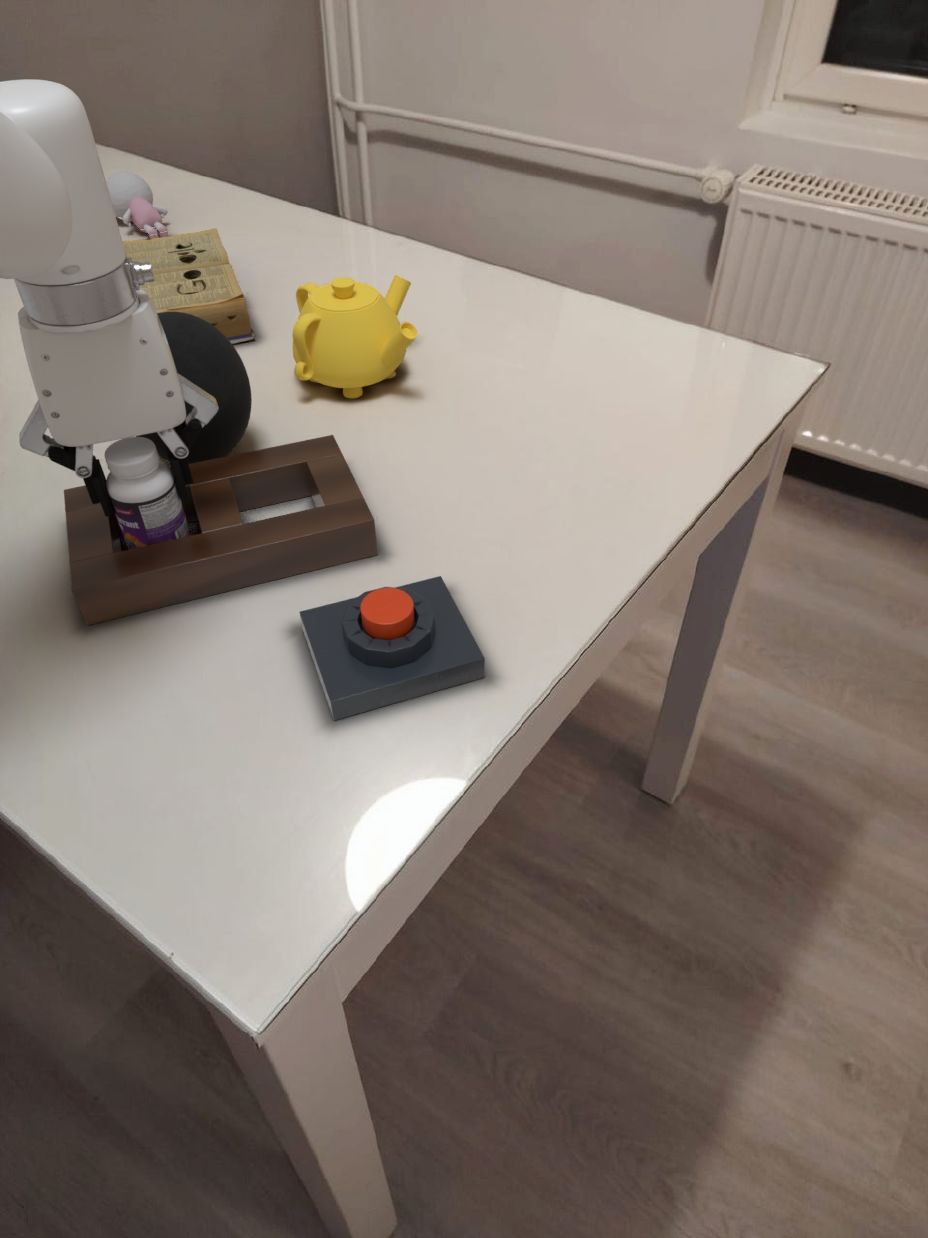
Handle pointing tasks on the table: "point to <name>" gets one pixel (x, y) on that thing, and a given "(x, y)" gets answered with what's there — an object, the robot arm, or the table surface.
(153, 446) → the pill bottle
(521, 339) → the table surface
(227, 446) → the decorative egg
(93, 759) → the table surface
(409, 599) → the button
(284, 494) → the dock
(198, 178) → the table surface
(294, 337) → the teapot
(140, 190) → the toy
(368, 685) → the dark grey flat piece
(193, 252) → the book
